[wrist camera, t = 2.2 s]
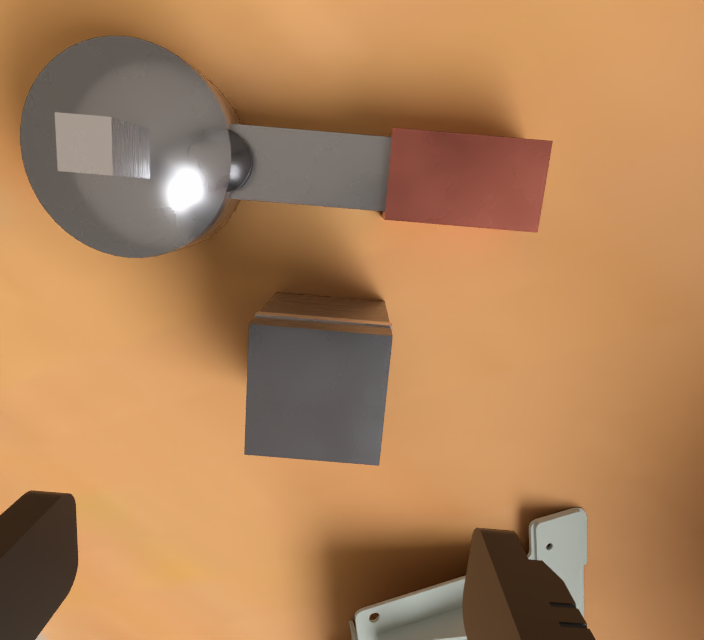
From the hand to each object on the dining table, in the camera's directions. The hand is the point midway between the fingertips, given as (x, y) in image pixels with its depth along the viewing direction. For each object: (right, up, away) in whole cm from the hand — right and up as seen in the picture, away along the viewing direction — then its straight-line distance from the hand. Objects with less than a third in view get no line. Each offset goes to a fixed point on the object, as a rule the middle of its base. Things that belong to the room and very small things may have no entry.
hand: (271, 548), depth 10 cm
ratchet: (-2, +11, +12) cm, 17 cm away
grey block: (0, +3, +14) cm, 14 cm away
